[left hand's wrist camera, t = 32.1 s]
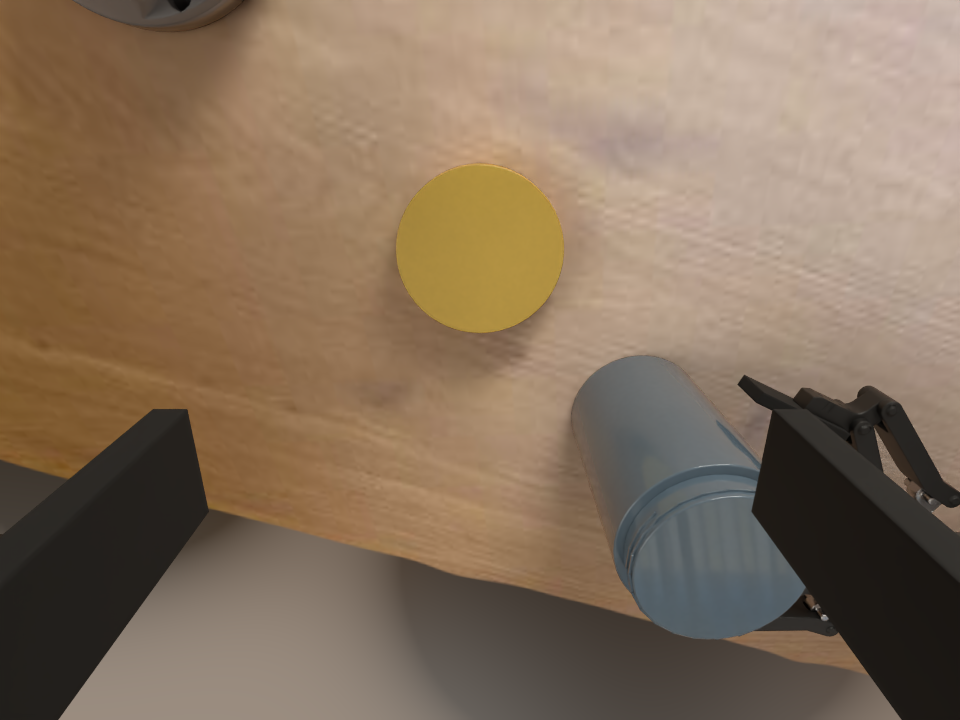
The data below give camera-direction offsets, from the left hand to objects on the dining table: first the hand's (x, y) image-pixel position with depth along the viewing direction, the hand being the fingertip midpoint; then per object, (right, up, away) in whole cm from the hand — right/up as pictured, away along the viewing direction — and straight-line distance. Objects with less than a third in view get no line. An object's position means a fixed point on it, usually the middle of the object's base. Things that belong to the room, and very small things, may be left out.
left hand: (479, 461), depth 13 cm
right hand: (+14, -5, +24) cm, 29 cm away
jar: (+12, -2, +30) cm, 32 cm away
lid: (0, +9, +24) cm, 26 cm away
